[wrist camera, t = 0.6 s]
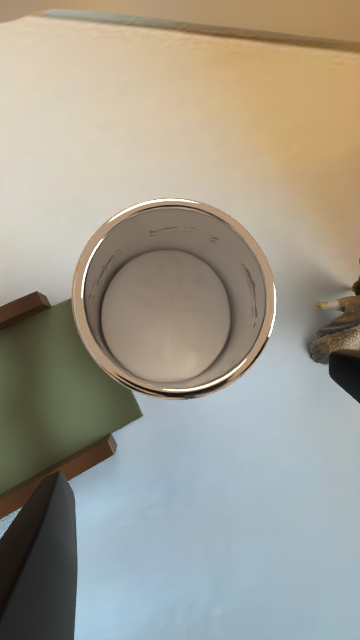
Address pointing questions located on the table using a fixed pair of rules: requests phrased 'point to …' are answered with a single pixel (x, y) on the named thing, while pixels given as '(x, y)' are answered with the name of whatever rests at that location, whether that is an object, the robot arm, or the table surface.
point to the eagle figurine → (339, 327)
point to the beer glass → (173, 299)
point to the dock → (52, 400)
